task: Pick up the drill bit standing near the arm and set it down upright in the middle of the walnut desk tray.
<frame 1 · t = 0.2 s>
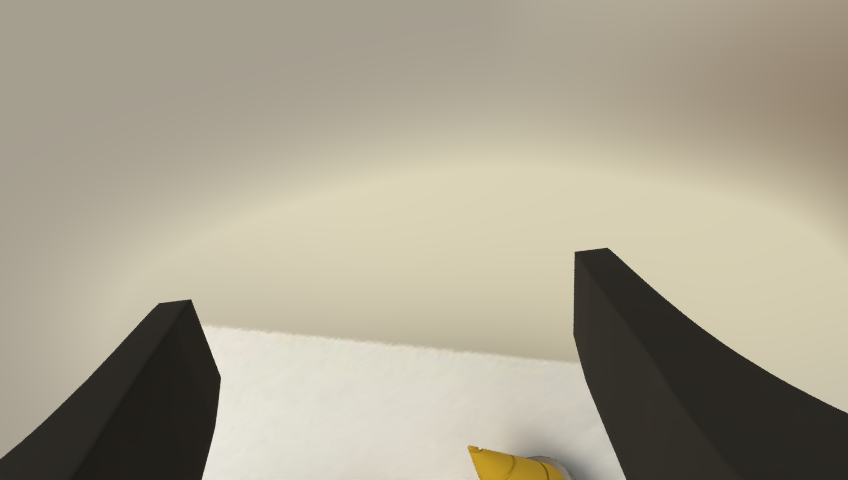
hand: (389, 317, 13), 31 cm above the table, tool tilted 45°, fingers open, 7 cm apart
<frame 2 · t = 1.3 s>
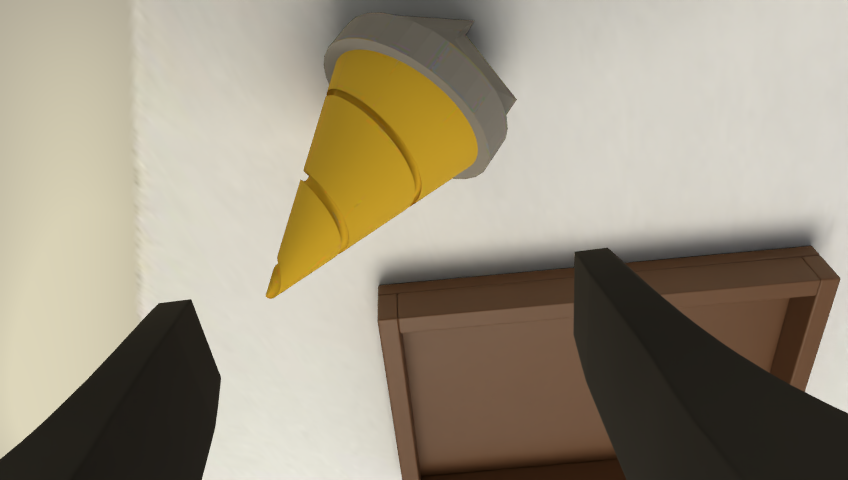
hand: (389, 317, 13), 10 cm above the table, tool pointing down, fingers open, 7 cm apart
desk tray: (587, 373, 29), on the table
drill bit: (397, 99, 22), on the table
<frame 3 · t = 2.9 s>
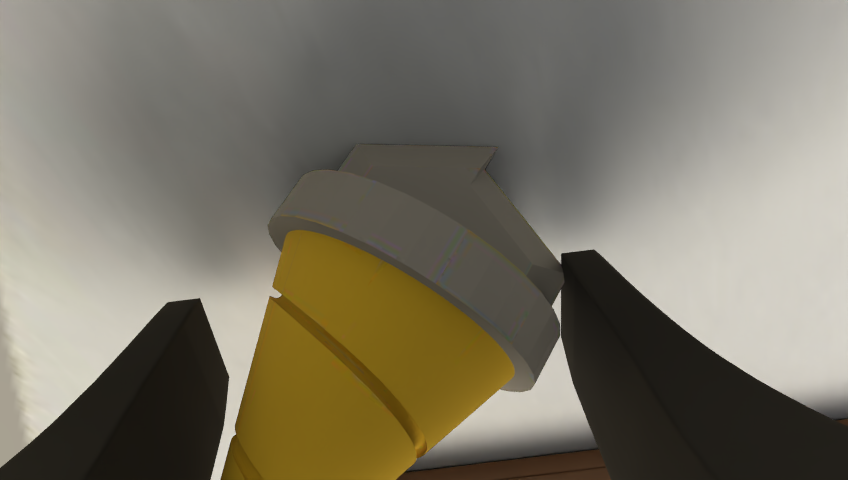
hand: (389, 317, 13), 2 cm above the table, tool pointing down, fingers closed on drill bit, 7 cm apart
drill bit: (387, 253, 15), on the table, touching gripper
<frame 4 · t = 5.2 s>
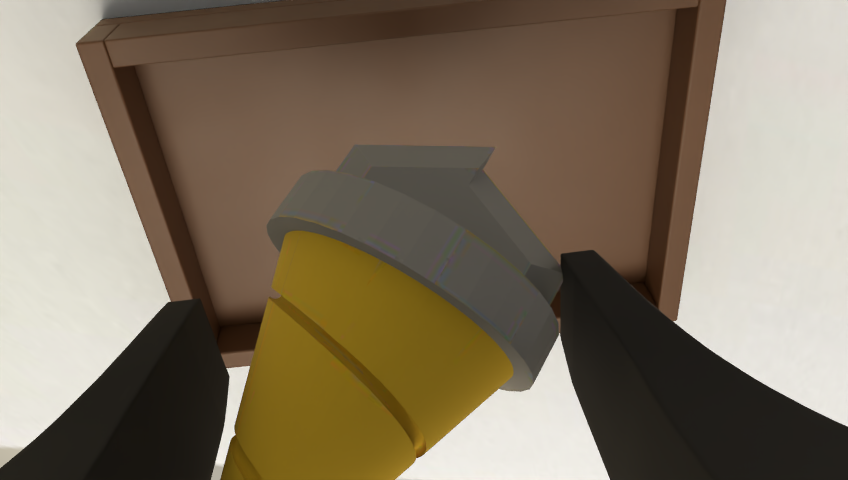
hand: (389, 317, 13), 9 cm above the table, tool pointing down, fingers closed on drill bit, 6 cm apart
desk tray: (419, 170, 22), on the table
drill bit: (385, 253, 15), point 7 cm above the table, touching gripper
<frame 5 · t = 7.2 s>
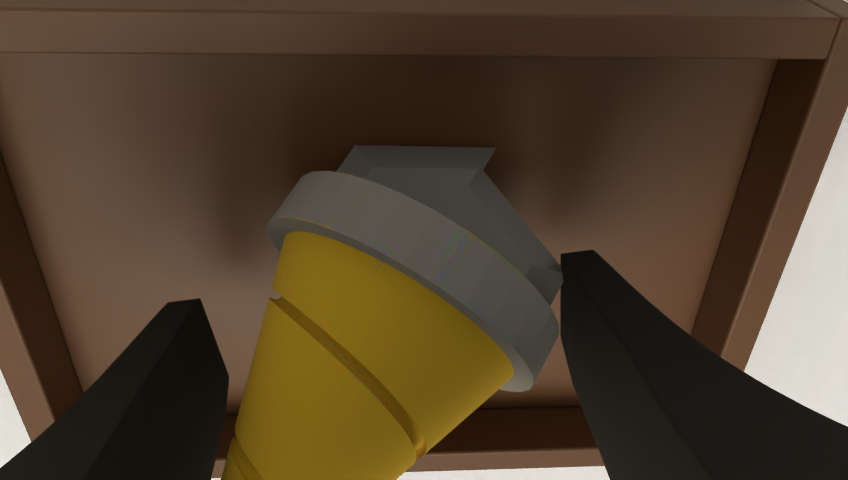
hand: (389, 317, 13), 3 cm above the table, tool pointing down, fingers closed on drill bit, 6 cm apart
desk tray: (387, 238, 15), on the table
drill bit: (385, 254, 15), point 1 cm above the table, touching gripper
when the fingers open (3 cm above the table, at t = 7.9 s): drill bit stays where it is, resting on desk tray.
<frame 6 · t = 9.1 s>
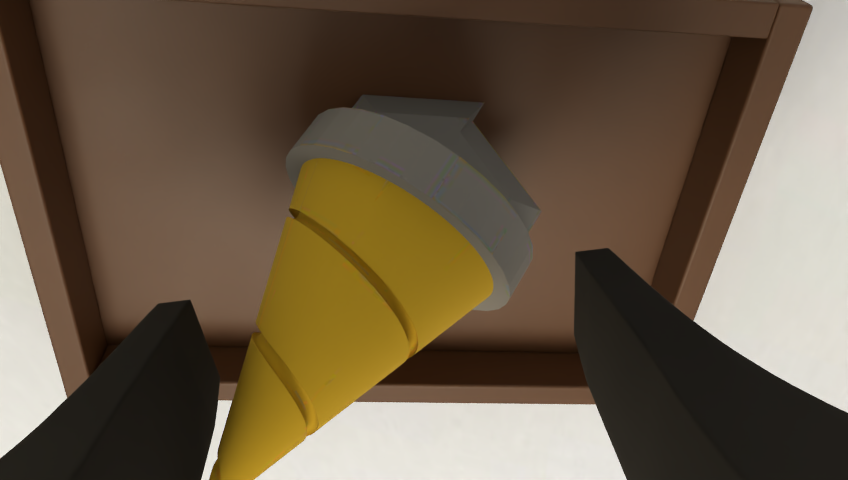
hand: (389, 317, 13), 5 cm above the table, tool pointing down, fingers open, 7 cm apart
desk tray: (385, 187, 17), on the table
drill bit: (383, 196, 17), resting on desk tray, touching gripper
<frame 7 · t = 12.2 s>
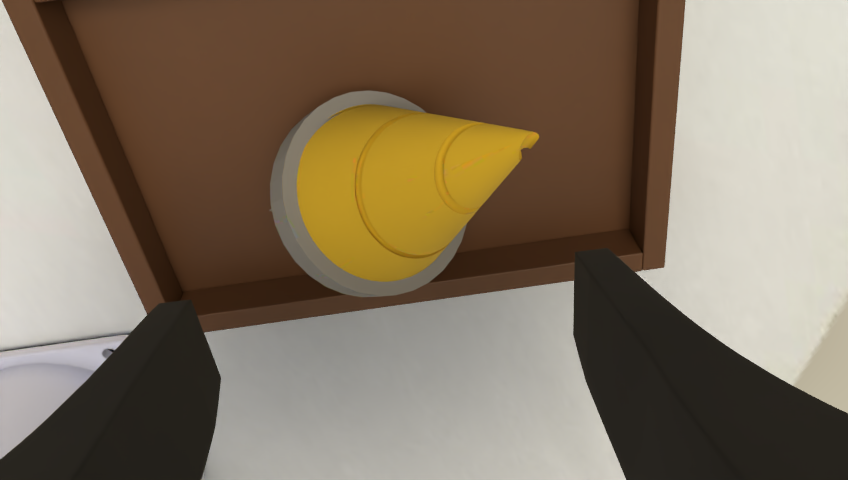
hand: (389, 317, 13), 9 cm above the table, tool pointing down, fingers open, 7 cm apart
desk tray: (379, 114, 20), on the table
drill bit: (381, 119, 20), resting on desk tray
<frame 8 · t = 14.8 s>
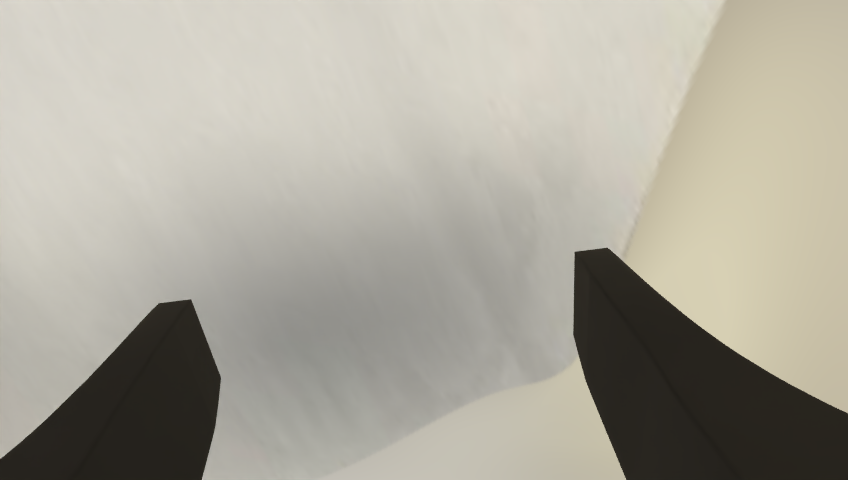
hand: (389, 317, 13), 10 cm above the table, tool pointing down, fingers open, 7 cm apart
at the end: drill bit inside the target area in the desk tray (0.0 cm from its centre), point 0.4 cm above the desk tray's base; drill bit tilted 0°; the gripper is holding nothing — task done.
